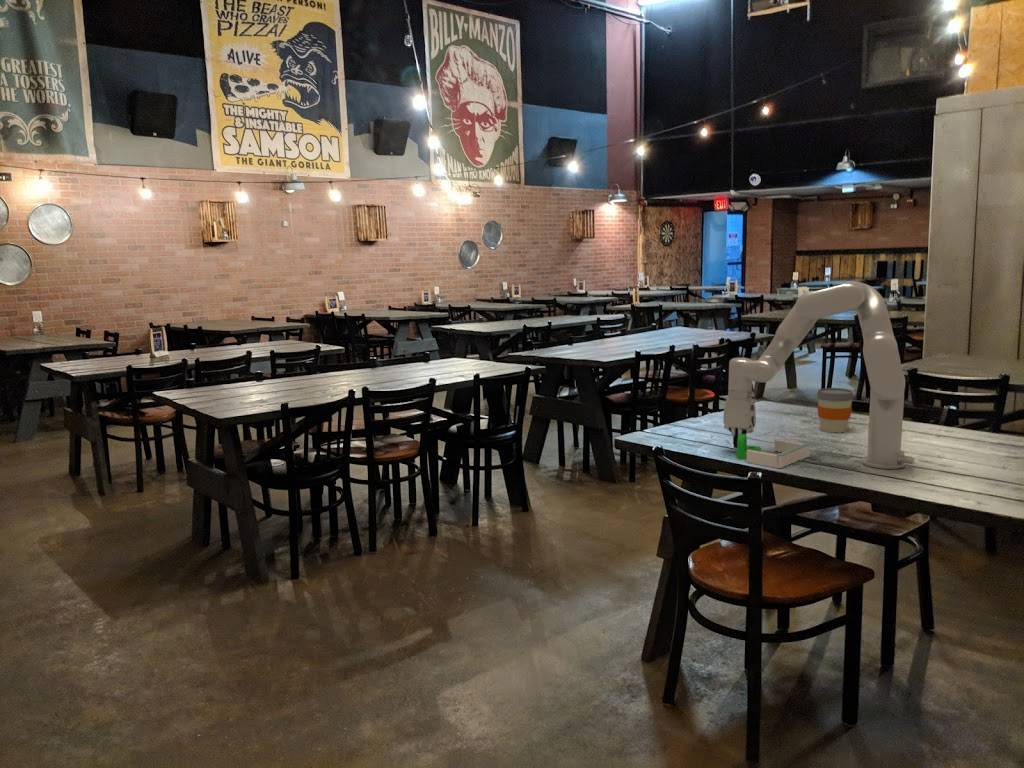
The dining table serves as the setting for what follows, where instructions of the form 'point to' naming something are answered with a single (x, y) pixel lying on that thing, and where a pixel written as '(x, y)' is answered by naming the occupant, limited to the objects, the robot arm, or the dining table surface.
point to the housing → (789, 455)
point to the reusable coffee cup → (834, 408)
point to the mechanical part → (744, 447)
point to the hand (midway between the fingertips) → (738, 447)
